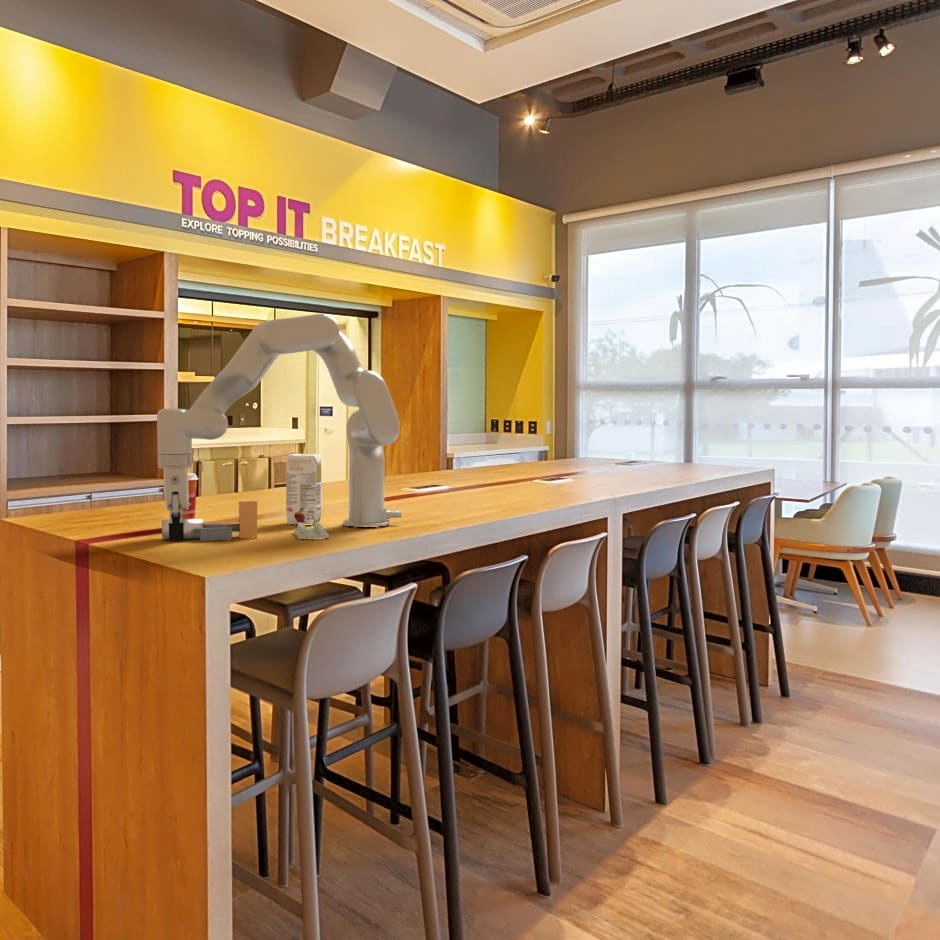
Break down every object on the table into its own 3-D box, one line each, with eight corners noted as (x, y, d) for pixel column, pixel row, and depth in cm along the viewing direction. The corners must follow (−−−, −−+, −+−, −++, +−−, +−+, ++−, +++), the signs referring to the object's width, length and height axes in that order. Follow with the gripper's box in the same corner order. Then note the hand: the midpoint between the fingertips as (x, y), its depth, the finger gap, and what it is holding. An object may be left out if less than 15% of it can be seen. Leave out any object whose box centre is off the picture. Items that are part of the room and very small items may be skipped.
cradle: (321, 531, 202) (321, 522, 202) (329, 538, 192) (329, 529, 191) (294, 532, 200) (294, 523, 199) (299, 540, 189) (299, 530, 189)
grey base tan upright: (255, 535, 195) (255, 499, 194) (257, 538, 191) (257, 501, 190) (204, 537, 191) (204, 500, 190) (204, 540, 187) (204, 502, 186)
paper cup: (165, 530, 199) (164, 475, 198) (168, 525, 206) (167, 472, 205) (198, 529, 201) (197, 475, 200) (199, 525, 209) (199, 472, 207)
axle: (202, 536, 191) (202, 516, 190) (203, 540, 186) (202, 520, 186) (162, 538, 188) (162, 518, 187) (162, 542, 183) (161, 521, 183)
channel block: (230, 534, 194) (230, 522, 194) (231, 540, 187) (231, 527, 187) (200, 535, 192) (200, 523, 192) (200, 541, 185) (200, 528, 184)
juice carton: (313, 526, 211) (313, 455, 209) (283, 524, 212) (283, 454, 211) (324, 522, 218) (324, 453, 216) (295, 521, 220) (295, 452, 218)
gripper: (192, 463, 178) (193, 543, 180) (191, 458, 194) (193, 531, 196) (156, 464, 176) (158, 545, 177) (159, 458, 192) (160, 533, 193)
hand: (176, 537), depth 186 cm, fingers closed on axle, 4 cm apart
